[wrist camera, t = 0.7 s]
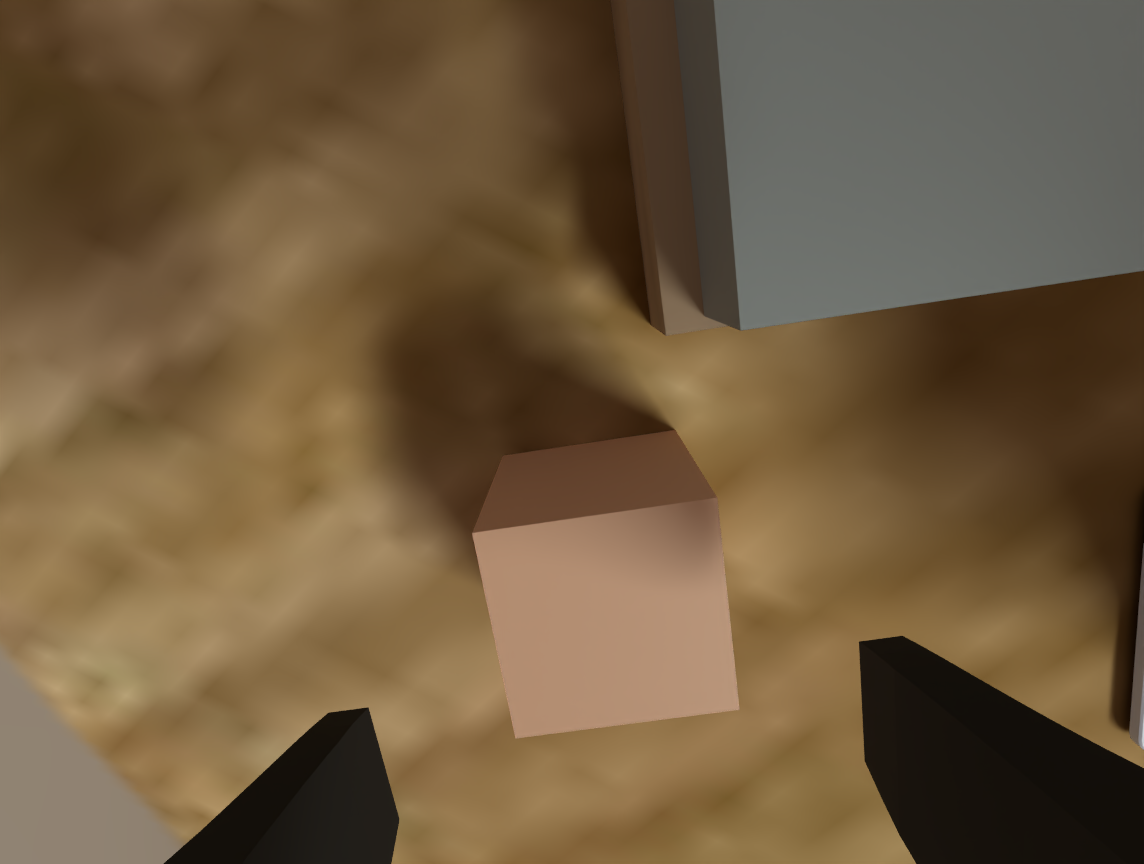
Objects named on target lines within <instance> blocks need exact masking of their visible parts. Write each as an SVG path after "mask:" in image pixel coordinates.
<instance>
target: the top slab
mask: <svg viewBox="0 0 1144 864" xmlns="http://www.w3.org/2000/svg"><path fill="white" fill-rule="evenodd" d="M674 8H675V18H676V29H677V39H678V50H679V60H680V71H681V81H682V91H683V102H684V112H685V122H686V133H687V143H688V154H689V164H690V174H691V185H692V195H693V205H694V216H695V226H696V237H697V247H698V257H699V268H700V278H701V288H702V299H703V309H704V316H705V317H708V318H710V319H713V320H715V321H718V322H720V323H723V324H725V325H728V326H730V327H733V328H735V329H738V330H748V329H755V328H761V327H768V326H775V325H781V324H788V323H795V322H802V321H808V320H815V319H822V318H829V317H835V316H842V315H849V314H855V313H862V312H869V311H876V310H882V309H889V308H896V307H903V306H909V305H916V304H923V303H930V302H936V301H943V300H950V299H956V298H963V297H970V296H977V295H983V294H990V293H997V292H1004V291H1010V290H1017V289H1024V288H1030V287H1037V286H1044V285H1051V284H1057V283H1064V282H1071V281H1078V280H1084V279H1091V278H1098V277H1104V276H1111V275H1118V274H1125V273H1131V272H1138V271H1144V0H674Z"/></svg>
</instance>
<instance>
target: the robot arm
mask: <svg viewBox="0 0 1144 864" xmlns="http://www.w3.org/2000/svg"><path fill="white" fill-rule="evenodd" d="M859 650H860V671H861V692H862V713H863V734H864V754H865V762H866V765H867V767H868V769H869V771H870V773H871V775H872V778H873V780H874V782H875V784H876V786H877V789H878V791H879V793H880V795H881V797H882V800H883V802H884V804H885V806H886V808H887V810H888V812H889V814H890V816H891V818H892V820H893V822H894V825H895V827H896V829H897V831H898V833H899V835H900V837H901V838H902V840H903V842H904V843H905V845H906V847H907V849H908V850H909V852H910V854H911V855H912V857H913V859H914V860H915V862H916V864H1144V768H1142V767H1140V766H1138V765H1136V764H1134V763H1132V762H1130V761H1128V760H1126V759H1124V758H1122V757H1120V756H1118V755H1116V754H1115V753H1113V752H1111V751H1109V750H1107V749H1105V748H1103V747H1101V746H1099V745H1097V744H1095V743H1093V742H1091V741H1090V740H1088V739H1086V738H1084V737H1082V736H1080V735H1078V734H1076V733H1075V732H1073V731H1071V730H1069V729H1067V728H1065V727H1063V726H1062V725H1060V724H1058V723H1056V722H1054V721H1052V720H1051V719H1049V718H1047V717H1045V716H1043V715H1042V714H1040V713H1038V712H1036V711H1034V710H1033V709H1031V708H1029V707H1027V706H1025V705H1024V704H1022V703H1020V702H1018V701H1017V700H1015V699H1013V698H1011V697H1010V696H1008V695H1006V694H1004V693H1003V692H1001V691H999V690H997V689H996V688H994V687H992V686H990V685H989V684H987V683H985V682H983V681H982V680H980V679H978V678H976V677H975V676H973V675H971V674H970V673H968V672H966V671H964V670H963V669H961V668H959V667H957V666H956V665H954V664H952V663H950V662H949V661H947V660H945V659H944V658H942V657H940V656H938V655H937V654H935V653H933V652H931V651H929V650H928V649H926V648H924V647H922V646H920V645H919V644H917V643H915V642H913V641H911V640H909V639H907V638H905V637H903V636H898V637H891V638H883V639H876V640H868V641H861V642H859ZM1129 733H1130V738H1131V739H1132V740H1133V741H1134V742H1135V743H1136V744H1137V745H1138V746H1140V747H1141V748H1142V749H1144V545H1143V558H1142V571H1141V584H1140V597H1139V610H1138V623H1137V637H1136V650H1135V663H1134V676H1133V689H1132V702H1131V715H1130V729H1129ZM398 824H399V816H398V813H397V809H396V806H395V802H394V798H393V795H392V791H391V787H390V784H389V780H388V777H387V773H386V769H385V766H384V762H383V759H382V755H381V751H380V748H379V744H378V741H377V737H376V733H375V730H374V726H373V723H372V719H371V715H370V712H369V708H361V709H354V710H346V711H339V712H331V713H328V714H327V715H325V716H324V717H323V718H322V719H321V720H319V721H318V722H317V723H316V724H315V725H314V726H312V727H311V728H310V729H309V730H308V731H307V732H306V733H305V734H304V735H303V736H301V737H300V738H299V739H298V740H297V741H296V742H295V743H294V744H293V745H292V746H291V747H290V748H289V749H287V750H286V751H285V752H284V753H283V754H282V755H281V756H280V757H279V758H278V759H277V760H276V761H275V762H274V763H273V764H272V765H271V766H270V767H268V768H267V769H266V770H265V771H264V772H263V773H262V774H261V775H260V776H259V777H258V778H257V779H256V780H255V781H254V782H253V783H252V784H250V785H249V786H248V787H247V788H246V789H245V790H244V791H243V792H242V793H241V794H240V795H239V796H238V797H237V798H235V799H234V800H233V801H232V802H231V803H230V804H229V805H228V806H227V807H226V808H225V809H224V810H223V811H222V812H221V813H219V814H218V815H217V816H216V817H215V818H214V819H213V820H212V821H211V822H210V823H209V824H208V825H207V826H206V827H204V828H203V829H202V830H201V831H200V832H199V833H198V834H197V835H196V836H194V837H193V838H192V839H191V840H190V841H189V842H188V843H187V844H185V845H184V846H183V847H182V848H181V849H180V850H179V851H177V852H176V853H175V854H174V855H173V856H172V857H171V858H169V859H168V860H167V861H166V862H165V863H164V864H391V862H392V857H393V851H394V846H395V840H396V835H397V830H398Z"/></svg>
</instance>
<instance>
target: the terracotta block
mask: <svg viewBox="0 0 1144 864" xmlns="http://www.w3.org/2000/svg"><path fill="white" fill-rule="evenodd" d="M472 535H473V540H474V544H475V549H476V554H477V559H478V563H479V568H480V573H481V577H482V582H483V587H484V592H485V596H486V601H487V606H488V611H489V615H490V620H491V625H492V629H493V634H494V639H495V644H496V648H497V653H498V658H499V662H500V667H501V672H502V677H503V681H504V686H505V691H506V696H507V700H508V705H509V710H510V714H511V719H512V724H513V729H514V733H515V738H522V737H530V736H538V735H545V734H553V733H561V732H569V731H577V730H584V729H592V728H600V727H608V726H615V725H623V724H631V723H639V722H647V721H654V720H662V719H670V718H678V717H685V716H693V715H701V714H709V713H717V712H724V711H732V710H739V700H738V691H737V681H736V672H735V662H734V653H733V643H732V634H731V624H730V615H729V605H728V596H727V586H726V577H725V567H724V558H723V548H722V538H721V529H720V519H719V510H718V500H717V497H716V495H715V493H714V492H713V490H712V488H711V487H710V485H709V484H708V482H707V480H706V479H705V477H704V476H703V474H702V472H701V471H700V469H699V468H698V466H697V464H696V463H695V461H694V459H693V458H692V456H691V455H690V453H689V451H688V450H687V448H686V447H685V445H684V443H683V442H682V440H681V439H680V437H679V435H678V434H677V432H676V430H671V431H665V432H658V433H651V434H645V435H638V436H631V437H625V438H618V439H611V440H604V441H598V442H591V443H584V444H578V445H571V446H564V447H558V448H551V449H544V450H537V451H531V452H524V453H517V454H511V455H504V456H502V459H501V461H500V464H499V466H498V469H497V471H496V474H495V476H494V479H493V481H492V484H491V486H490V489H489V491H488V494H487V497H486V499H485V502H484V504H483V507H482V509H481V512H480V514H479V517H478V519H477V522H476V524H475V527H474V529H473V532H472Z"/></svg>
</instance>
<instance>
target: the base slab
mask: <svg viewBox="0 0 1144 864" xmlns="http://www.w3.org/2000/svg"><path fill="white" fill-rule="evenodd" d="M610 2H611V10H612V18H613V26H614V34H615V42H616V50H617V58H618V66H619V74H620V82H621V90H622V98H623V106H624V114H625V122H626V130H627V138H628V146H629V154H630V162H631V170H632V178H633V186H634V194H635V202H636V210H637V218H638V226H639V234H640V242H641V250H642V258H643V266H644V274H645V282H646V290H647V298H648V306H649V314H650V322H651V325H652V326H653V327H655V328H656V329H657V330H659V331H660V332H662V333H663V334H664V335H666V336H668V335H674V334H680V333H687V332H693V331H699V330H706V329H712V328H718V327H725V326H728V325H725V324H723V323H720V322H718V321H715V320H713V319H710V318H708V317H705V316H704V309H703V299H702V288H701V278H700V268H699V257H698V247H697V237H696V226H695V216H694V205H693V195H692V185H691V174H690V164H689V154H688V143H687V133H686V122H685V112H684V102H683V91H682V81H681V71H680V60H679V50H678V39H677V29H676V18H675V8H674V0H610Z"/></svg>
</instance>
